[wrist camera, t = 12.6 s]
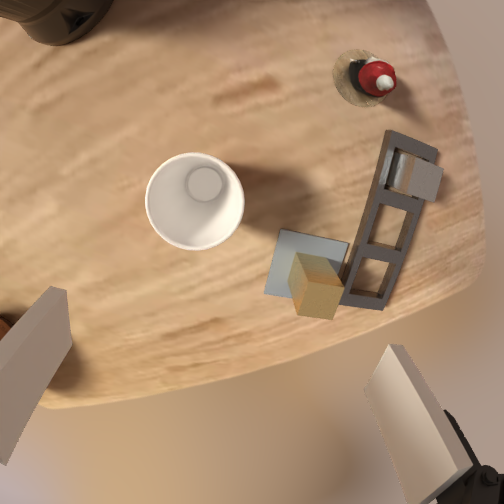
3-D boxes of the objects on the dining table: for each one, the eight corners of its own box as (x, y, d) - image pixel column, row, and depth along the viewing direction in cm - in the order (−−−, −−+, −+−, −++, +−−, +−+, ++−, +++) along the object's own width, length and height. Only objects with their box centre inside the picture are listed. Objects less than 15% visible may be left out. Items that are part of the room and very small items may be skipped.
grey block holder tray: (385, 129, 38) (392, 130, 37) (430, 147, 39) (437, 149, 37) (334, 297, 48) (338, 304, 46) (378, 304, 49) (382, 310, 47)
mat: (280, 228, 43) (280, 229, 43) (347, 242, 44) (348, 243, 44) (263, 292, 47) (264, 293, 47) (326, 302, 48) (327, 303, 48)
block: (391, 151, 40) (416, 157, 33) (417, 161, 40) (443, 168, 34) (383, 182, 41) (406, 193, 35) (409, 190, 42) (434, 202, 35)
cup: (202, 130, 38) (189, 131, 28) (259, 181, 41) (266, 200, 31) (153, 187, 40) (126, 208, 30) (208, 234, 43) (199, 269, 33)
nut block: (295, 251, 44) (308, 281, 36) (326, 257, 45) (344, 287, 36) (287, 280, 46) (297, 315, 38) (317, 285, 46) (332, 319, 38)
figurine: (406, 37, 30) (429, 97, 27) (378, 83, 39) (390, 146, 36) (347, 16, 29) (360, 73, 26) (326, 69, 39) (330, 130, 35)
